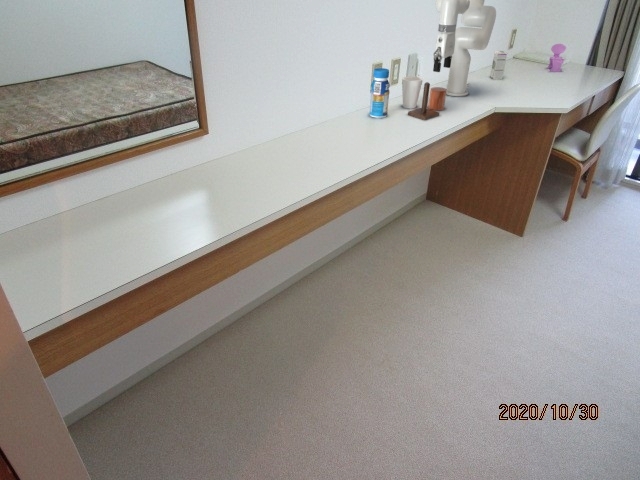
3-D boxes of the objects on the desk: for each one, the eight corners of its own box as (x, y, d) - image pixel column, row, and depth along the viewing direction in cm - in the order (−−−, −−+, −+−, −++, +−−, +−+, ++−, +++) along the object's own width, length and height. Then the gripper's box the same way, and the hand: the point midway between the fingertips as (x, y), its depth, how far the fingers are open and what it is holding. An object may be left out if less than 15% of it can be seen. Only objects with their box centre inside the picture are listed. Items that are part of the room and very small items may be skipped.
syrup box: (502, 79, 262) (508, 52, 254) (492, 79, 262) (497, 52, 254) (499, 76, 267) (504, 50, 259) (489, 76, 267) (494, 50, 259)
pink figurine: (548, 71, 277) (555, 45, 269) (544, 68, 285) (551, 43, 277) (562, 72, 276) (569, 46, 268) (558, 69, 284) (565, 43, 275)
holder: (421, 110, 211) (425, 78, 203) (439, 115, 205) (443, 82, 197) (407, 114, 206) (411, 82, 198) (424, 120, 200) (429, 86, 192)
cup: (434, 105, 218) (437, 86, 214) (446, 108, 214) (449, 89, 209) (425, 108, 215) (427, 88, 210) (437, 111, 210) (440, 92, 205)
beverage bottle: (365, 114, 207) (368, 68, 196) (381, 111, 210) (385, 66, 199) (374, 119, 201) (377, 72, 190) (391, 116, 203) (395, 70, 193)
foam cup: (419, 110, 212) (422, 81, 205) (399, 108, 214) (401, 80, 207) (419, 104, 220) (422, 76, 213) (400, 103, 221) (402, 75, 214)
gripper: (445, 32, 188) (440, 74, 198) (464, 26, 199) (457, 67, 209) (429, 30, 192) (424, 72, 202) (448, 25, 203) (443, 64, 213)
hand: (441, 69), depth 205 cm, fingers open, 9 cm apart
